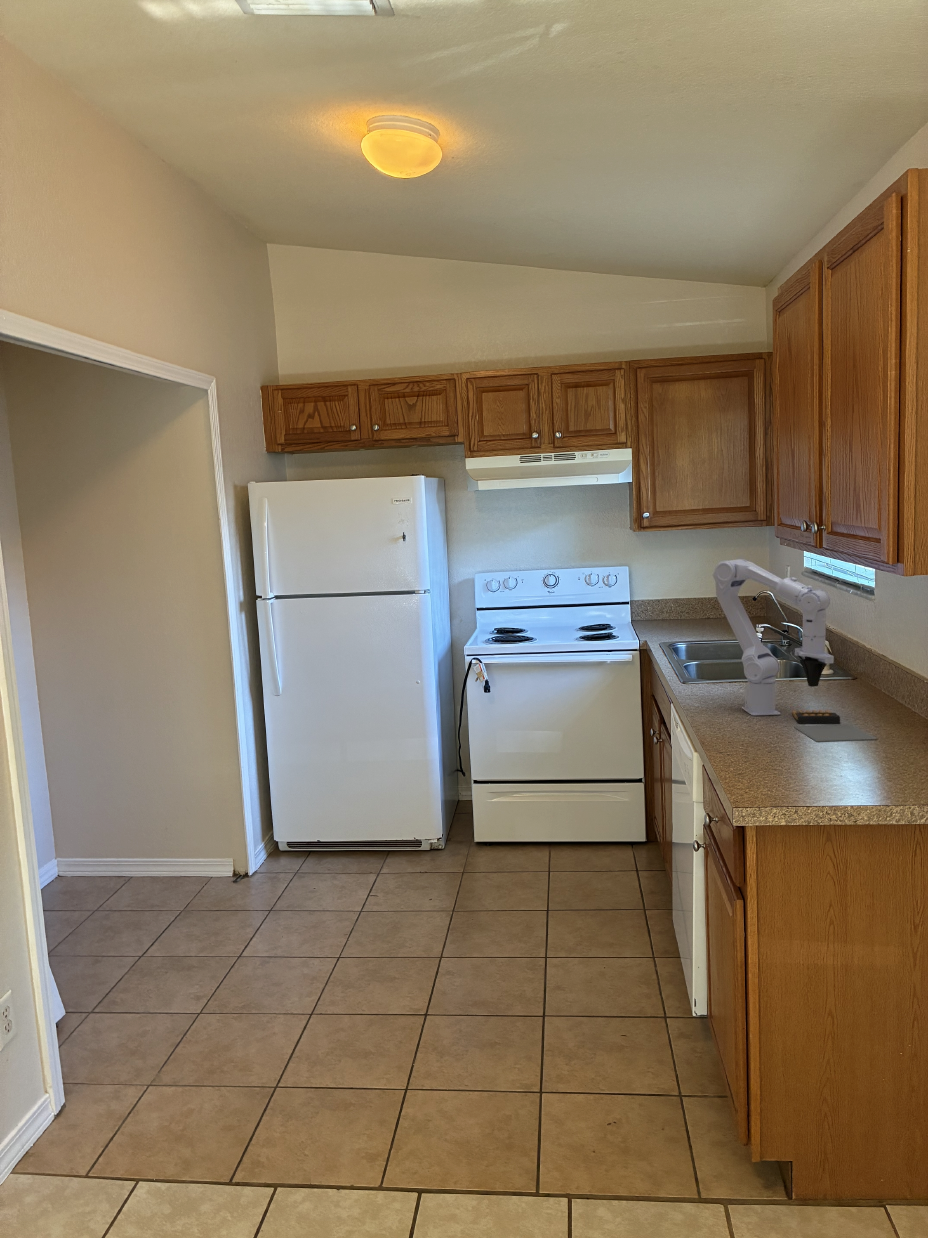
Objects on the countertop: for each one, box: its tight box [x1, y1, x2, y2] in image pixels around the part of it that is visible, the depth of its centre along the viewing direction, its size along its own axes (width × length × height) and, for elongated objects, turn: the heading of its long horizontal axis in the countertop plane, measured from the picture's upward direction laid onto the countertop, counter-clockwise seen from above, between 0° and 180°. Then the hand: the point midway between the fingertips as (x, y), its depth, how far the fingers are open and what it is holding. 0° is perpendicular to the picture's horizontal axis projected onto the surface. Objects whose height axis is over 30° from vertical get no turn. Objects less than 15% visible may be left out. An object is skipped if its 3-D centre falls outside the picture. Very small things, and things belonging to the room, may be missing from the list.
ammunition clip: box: [791, 709, 841, 724], centre depth 251 cm, size 11×2×12 cm
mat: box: [793, 723, 878, 743], centre depth 235 cm, size 15×15×1 cm
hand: (813, 686), depth 248 cm, fingers closed
